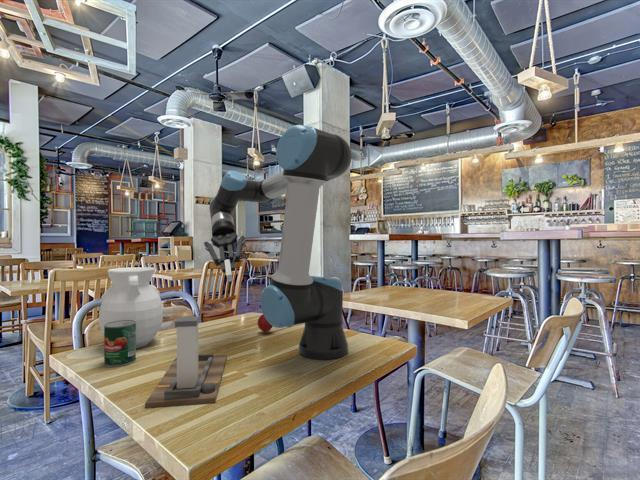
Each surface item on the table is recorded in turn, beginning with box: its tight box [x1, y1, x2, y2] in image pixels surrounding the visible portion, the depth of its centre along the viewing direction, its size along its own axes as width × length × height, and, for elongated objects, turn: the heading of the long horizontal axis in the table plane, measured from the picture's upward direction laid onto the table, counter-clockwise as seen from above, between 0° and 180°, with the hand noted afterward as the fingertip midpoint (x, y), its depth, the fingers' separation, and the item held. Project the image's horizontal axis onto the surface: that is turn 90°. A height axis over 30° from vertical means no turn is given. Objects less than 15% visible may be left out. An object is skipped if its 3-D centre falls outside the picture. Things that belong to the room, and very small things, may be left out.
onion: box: [257, 313, 274, 334], centre depth 131 cm, size 6×6×8 cm
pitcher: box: [98, 266, 164, 349], centre depth 116 cm, size 19×18×25 cm
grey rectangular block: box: [174, 315, 201, 389], centre depth 82 cm, size 5×5×15 cm
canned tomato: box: [103, 320, 137, 368], centre depth 100 cm, size 8×8×11 cm
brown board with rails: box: [144, 353, 228, 409], centre depth 88 cm, size 28×14×2 cm, turn 10°
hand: (229, 278), depth 102 cm, fingers closed
